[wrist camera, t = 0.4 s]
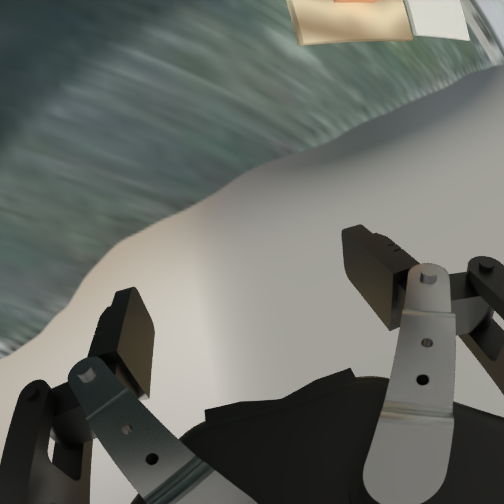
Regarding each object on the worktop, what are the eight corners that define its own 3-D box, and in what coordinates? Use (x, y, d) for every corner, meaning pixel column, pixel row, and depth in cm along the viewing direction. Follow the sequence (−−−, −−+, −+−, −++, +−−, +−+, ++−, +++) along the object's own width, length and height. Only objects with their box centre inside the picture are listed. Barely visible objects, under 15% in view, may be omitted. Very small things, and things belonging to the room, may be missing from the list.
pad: (392, -36, 27) (395, -37, 26) (448, -24, 28) (451, -25, 27) (413, 35, 33) (416, 34, 32) (466, 40, 33) (469, 40, 32)
